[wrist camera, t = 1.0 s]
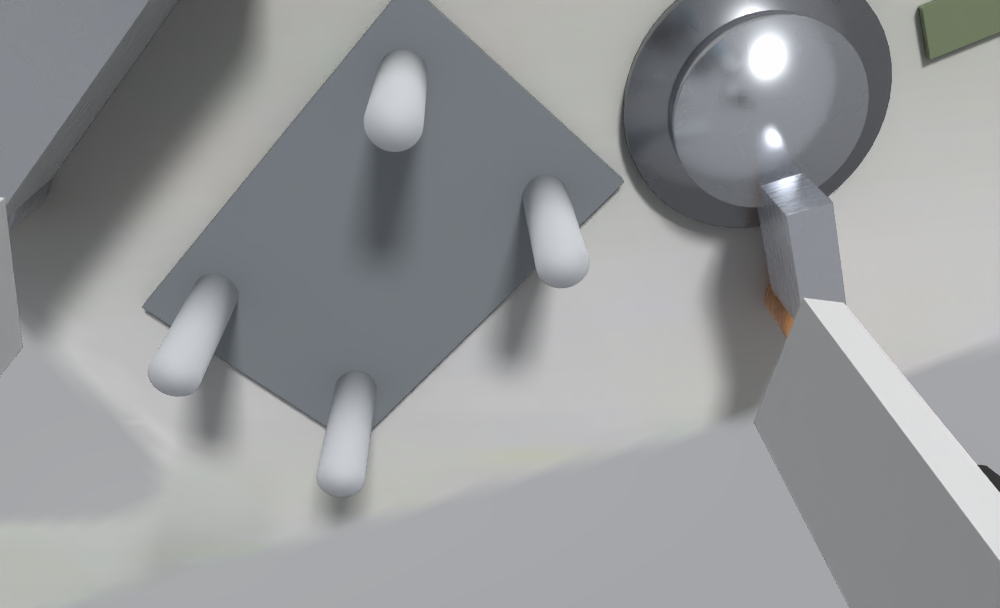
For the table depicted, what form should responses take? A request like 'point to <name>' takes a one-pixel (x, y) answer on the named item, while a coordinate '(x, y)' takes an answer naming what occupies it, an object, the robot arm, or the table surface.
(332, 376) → the rack
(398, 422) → the table surface
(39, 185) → the grey long block
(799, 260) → the lever with ball knob
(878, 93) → the base
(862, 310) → the table surface
